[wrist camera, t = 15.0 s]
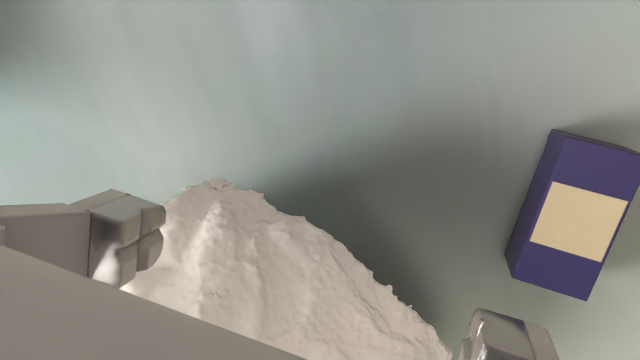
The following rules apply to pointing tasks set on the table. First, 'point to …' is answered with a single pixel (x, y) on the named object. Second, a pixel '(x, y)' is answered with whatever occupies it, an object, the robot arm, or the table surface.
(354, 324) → the rock
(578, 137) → the purple box
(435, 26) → the table surface
